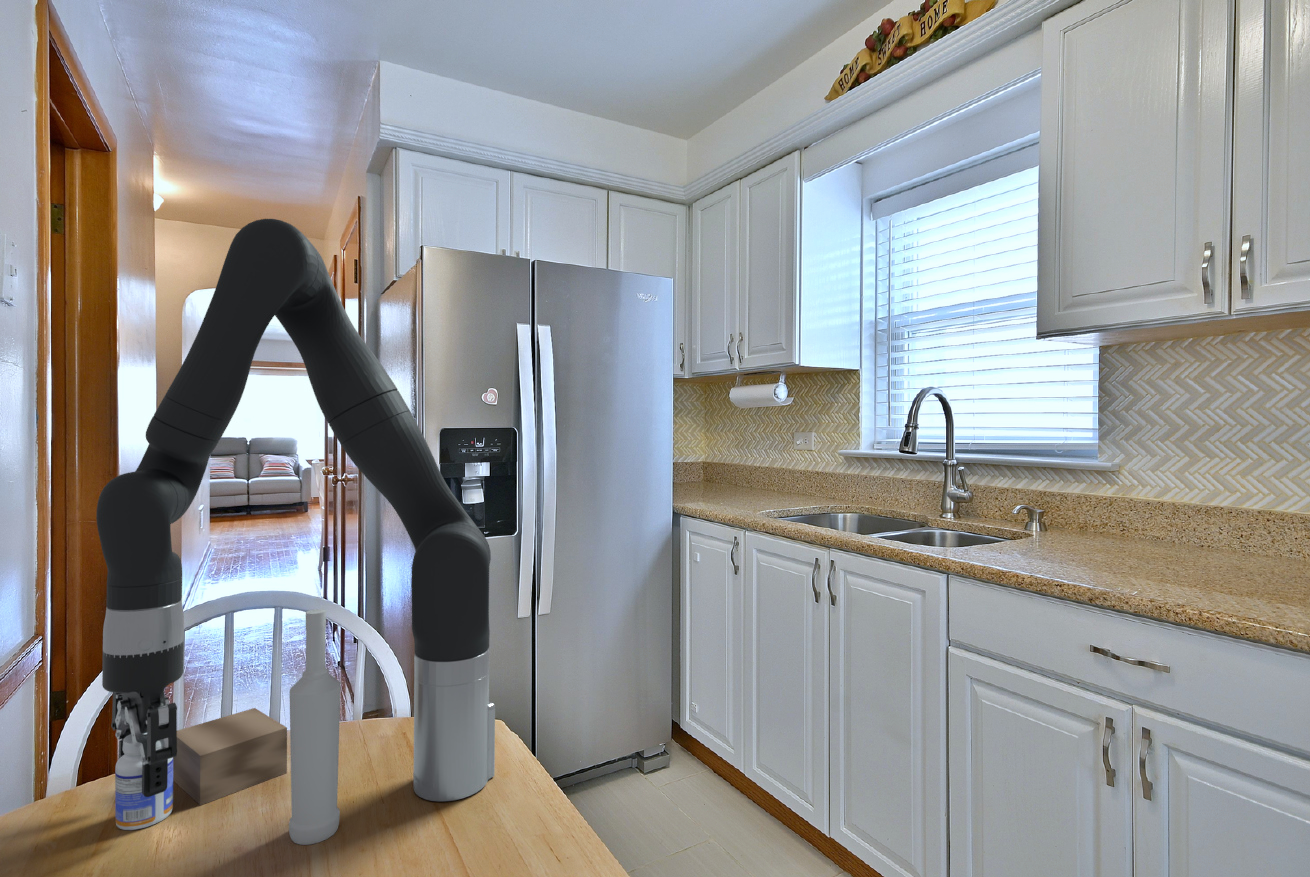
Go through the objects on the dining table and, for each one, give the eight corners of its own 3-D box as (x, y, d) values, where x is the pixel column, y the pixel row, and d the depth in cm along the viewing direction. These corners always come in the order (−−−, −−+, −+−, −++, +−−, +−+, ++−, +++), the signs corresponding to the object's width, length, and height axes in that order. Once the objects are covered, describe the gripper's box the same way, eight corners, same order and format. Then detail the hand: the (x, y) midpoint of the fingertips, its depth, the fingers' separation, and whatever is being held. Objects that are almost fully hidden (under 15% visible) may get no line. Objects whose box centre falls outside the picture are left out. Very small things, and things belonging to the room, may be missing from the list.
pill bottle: (152, 801, 82) (153, 721, 82) (184, 810, 81) (184, 729, 80) (103, 825, 77) (103, 741, 77) (135, 836, 75) (135, 749, 75)
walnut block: (254, 750, 96) (254, 707, 96) (286, 772, 90) (287, 727, 89) (171, 778, 88) (171, 732, 88) (200, 805, 82) (200, 755, 82)
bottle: (319, 848, 74) (320, 619, 73) (277, 842, 75) (278, 615, 74) (349, 821, 79) (351, 606, 78) (310, 816, 80) (311, 604, 79)
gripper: (204, 647, 77) (202, 789, 77) (161, 623, 86) (159, 750, 86) (123, 664, 71) (121, 817, 72) (86, 636, 80) (84, 773, 80)
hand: (142, 780), depth 79 cm, fingers open, 8 cm apart
